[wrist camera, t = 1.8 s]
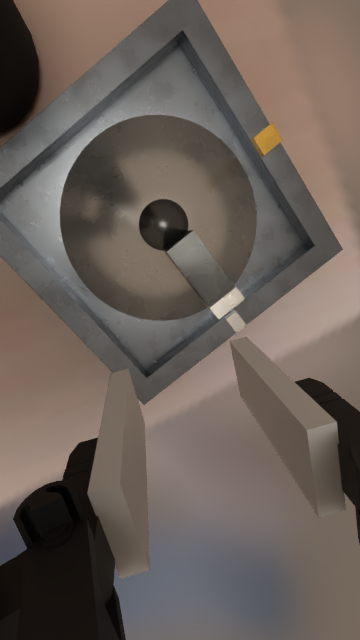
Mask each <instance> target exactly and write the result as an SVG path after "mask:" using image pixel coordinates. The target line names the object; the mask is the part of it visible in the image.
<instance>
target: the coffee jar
mask: <svg viewBox="0 0 360 640" xmlns="http://www.w3.org/2000/svg"><path fill="white" fill-rule="evenodd" d="M37 86H38V58H37V54H36V50H35V46H34V43H33V39H32V35H31V33H30V32H29V30H28V28H27V26H26V24H25V22H24V20H23V18H22V17H21V15H20V13H19V11H18V9H17V7H16V5H15V3H14V1H13V0H0V132H1V131H3V130H5V129H6V128H8V127H10V126H12V125H13V124H15V123H17V122H18V121H19V120H20V119H21V118H22V116H23V115H24V114H25V113H26V111H27V110H28V109H29V108H30V106H31V104H32V101H33V98H34V95H35V92H36V89H37Z"/></svg>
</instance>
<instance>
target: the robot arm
mask: <svg viewBox="0 0 360 640" xmlns="http://www.w3.org/2000/svg"><path fill="white" fill-rule="evenodd" d="M230 345H231V350H232V355H233V360H234V365H235V370H236V375H237V380H238V386H239V391H240V396H241V397H242V399H243V401H244V402H245V404H246V405H247V407H248V408H249V410H250V412H251V413H252V414H253V416H254V418H255V419H256V421H257V422H258V424H259V426H260V427H261V429H262V430H263V432H264V433H265V435H266V436H267V438H268V440H269V441H270V443H271V444H272V446H273V447H274V449H275V450H276V452H277V454H278V455H279V457H280V458H281V460H282V462H283V463H284V464H285V466H286V468H287V469H288V471H289V472H290V474H291V476H292V477H293V479H294V480H295V482H296V483H297V485H298V486H299V488H300V490H301V491H302V493H303V494H304V496H305V497H306V499H307V501H308V502H309V504H310V505H311V507H312V508H313V510H314V512H315V513H316V515H317V516H318V518H321V517H324V516H327V515H330V514H334V513H337V512H340V511H343V510H345V509H346V507H345V498H344V493H345V494H346V495H347V497H348V498H349V499H350V500H351V501H352V503H353V504H354V505H355V508H356V519H357V529H358V539H359V543H360V412H359V411H358V410H357V409H355V408H354V407H353V406H352V405H350V404H349V403H348V402H346V401H345V400H344V399H342V398H341V397H340V396H339V395H338V394H337V393H335V392H333V390H332V389H330V388H329V387H328V386H327V385H325V384H324V383H322V382H319V381H317V380H314V379H311V378H307V379H304V380H300V381H296V382H294V381H293V380H292V379H290V378H289V377H288V376H287V375H286V374H285V373H284V372H283V371H282V370H281V369H280V368H279V367H278V366H277V365H276V364H275V363H274V362H272V361H271V360H270V359H269V358H268V357H267V356H266V355H265V354H264V353H263V352H262V351H261V350H260V349H259V348H257V347H256V346H255V345H254V344H253V343H252V342H251V341H250V340H249V339H248V338H247V337H245V338H242V339H238V340H234V341H230ZM13 520H14V522H15V523H16V526H17V528H18V530H19V532H20V534H21V536H22V538H23V540H24V542H25V545H26V547H27V550H25V551H24V552H22V553H21V554H19V555H18V556H17V557H15V558H13V559H11V560H10V561H8V562H6V563H4V564H3V565H1V566H0V640H126V639H125V633H124V627H123V621H122V615H121V609H120V603H119V598H118V595H117V593H116V590H115V588H114V585H113V583H114V568H115V566H116V569H117V571H118V574H119V576H120V579H122V578H125V577H128V576H132V575H135V574H138V573H141V572H145V571H148V570H150V559H149V558H150V557H149V530H148V503H147V475H146V450H145V422H144V419H143V416H142V412H141V409H140V406H139V403H138V399H137V396H136V393H135V389H134V386H133V383H132V379H131V376H130V373H129V369H125V370H121V371H117V372H114V373H111V375H110V380H109V385H108V390H107V395H106V401H105V406H104V411H103V416H102V421H101V426H100V431H99V436H98V438H95V439H91V440H88V441H84V442H80V443H79V444H78V445H77V446H76V448H75V449H74V450H73V451H72V453H71V454H70V456H69V459H68V462H67V466H66V469H65V472H64V475H63V480H62V481H56V482H52V483H49V484H46V485H44V486H42V487H41V488H39V489H37V490H35V491H34V492H33V493H32V494H30V495H29V496H28V497H27V498H26V499H25V500H24V501H23V502H22V503H21V505H20V506H19V507H18V509H17V510H16V513H15V515H14V518H13Z"/></svg>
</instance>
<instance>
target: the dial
mask: <svg viewBox="0 0 360 640" xmlns="http://www.w3.org/2000/svg"><path fill="white" fill-rule="evenodd" d="M60 228H61V234H62V240H63V244H64V247H65V250H66V253H67V256H68V258H69V260H70V262H71V265H72V267H73V268H74V270H75V272H76V273H77V275H78V277H79V278H80V279H81V280H82V282H83V283H84V284H85V286H86V287H87V288H88V289H89V290H90V291H91V292H92V293H93V294H94V295H95V296H96V297H97V298H99V299H100V300H101V301H103V302H104V303H105V304H107V305H108V306H110V307H112V308H114V309H115V310H117V311H119V312H122V313H124V314H126V315H129V316H132V317H136V318H139V319H145V320H152V321H167V320H176V319H181V318H185V317H189V316H191V315H194V314H197V313H199V312H201V311H203V310H205V309H207V308H208V309H209V310H210V311H211V312H212V313H213V314H214V315H215V316H216V317H217V318H218V319H220V318H222V317H223V316H224V315H225V314H227V313H228V312H229V311H230V310H232V309H233V308H234V307H235V306H237V305H238V304H239V303H241V302H242V301H243V300H244V299H245V298H244V297H243V295H242V294H241V293H240V291H239V290H238V289H237V287H235V286H234V285H235V284H236V282H237V281H238V279H239V278H240V276H241V275H242V273H243V271H244V269H245V267H246V265H247V264H248V261H249V259H250V256H251V253H252V250H253V246H254V242H255V237H256V228H257V211H256V203H255V198H254V194H253V190H252V186H251V184H250V181H249V179H248V176H247V174H246V172H245V170H244V168H243V166H242V164H241V163H240V161H239V160H238V158H237V157H236V156H235V154H234V153H233V151H232V150H231V149H230V148H229V147H228V146H227V145H226V144H225V143H224V142H223V141H222V140H221V139H220V138H218V137H217V136H216V135H215V134H213V133H212V132H211V131H209V130H207V129H206V128H204V127H202V126H201V125H198V124H196V123H194V122H191V121H189V120H186V119H182V118H179V117H175V116H168V115H144V116H139V117H133V118H130V119H127V120H124V121H121V122H118V123H117V124H115V125H113V126H111V127H109V128H107V129H106V130H104V131H103V132H101V133H100V134H99V135H97V136H96V137H95V138H94V139H93V140H92V141H91V142H90V143H89V144H88V145H87V146H86V147H85V148H84V149H83V150H82V152H81V153H80V154H79V156H78V157H77V158H76V160H75V162H74V164H73V165H72V167H71V169H70V171H69V173H68V176H67V179H66V181H65V184H64V188H63V192H62V196H61V204H60Z"/></svg>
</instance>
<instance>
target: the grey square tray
mask: <svg viewBox="0 0 360 640" xmlns="http://www.w3.org/2000/svg"><path fill="white" fill-rule="evenodd" d="M144 115H168V116H175V117H179V118H182V119H186V120H189V121H191V122H194V123H196V124H198V125H201V126H202V127H204V128H206V129H207V130H209V131H211V132H212V133H213V134H215V135H216V136H217V137H218V138H220V139H221V140H222V141H223V142H224V143H225V144H226V145H227V146H228V147H229V148H230V149H231V150H232V151H233V153H234V154H235V156H236V157H237V158H238V160H239V161H240V163H241V164H242V166H243V168H244V170H245V172H246V174H247V176H248V179H249V181H250V184H251V186H252V190H253V194H254V198H255V203H256V211H257V228H256V237H255V242H254V246H253V250H252V253H251V256H250V259H249V261H248V264H247V265H246V267H245V269H244V271H243V273H242V275H241V276H240V278H239V279H238V281H237V282H236V284H235V285H234V286H235V287H237V289H238V290H239V291H240V293H241V294H242V295H243V297H244V298H245V299H244V300H243V301H242V302H241V303H239V304H238V305H237V306H235V307H234V308H233V309H232V310H230V311H229V312H228V313H227V314H225V315H224V316H223V317H222V318H220V319H218V318H217V317H216V316H215V315H214V314H213V313H212V312H211V311H210V310H209V309H208V308H207V309H205V310H203V311H201V312H199V313H197V314H194V315H191V316H189V317H185V318H181V319H176V320H167V321H152V320H145V319H139V318H136V317H132V316H129V315H126V314H124V313H122V312H119V311H117V310H115V309H114V308H112V307H110V306H108V305H107V304H105V303H104V302H103V301H101V300H100V299H99V298H97V297H96V296H95V295H94V294H93V293H92V292H91V291H90V290H89V289H88V288H87V287H86V286H85V284H84V283H83V282H82V280H81V279H80V278H79V277H78V275H77V273H76V272H75V270H74V268H73V267H72V265H71V262H70V260H69V258H68V256H67V253H66V250H65V247H64V244H63V240H62V234H61V228H60V204H61V196H62V192H63V188H64V184H65V181H66V179H67V176H68V173H69V171H70V169H71V167H72V165H73V164H74V162H75V160H76V158H77V157H78V156H79V154H80V153H81V152H82V150H83V149H84V148H85V147H86V146H87V145H88V144H89V143H90V142H91V141H92V140H93V139H94V138H95V137H96V136H97V135H99V134H100V133H101V132H103V131H104V130H106V129H107V128H109V127H111V126H113V125H115V124H117V123H118V122H121V121H124V120H127V119H130V118H133V117H139V116H144ZM281 141H282V138H281V136H280V135H279V133H278V131H277V130H276V128H275V126H274V124H273V123H271V124H269V122H268V120H267V119H266V117H265V115H264V114H263V112H262V110H261V108H260V107H259V105H258V103H257V102H256V100H255V98H254V97H253V95H252V93H251V91H250V90H249V88H248V86H247V85H246V83H245V81H244V79H243V78H242V76H241V74H240V73H239V71H238V69H237V67H236V66H235V64H234V62H233V61H232V59H231V57H230V55H229V54H228V52H227V50H226V49H225V47H224V45H223V43H222V42H221V40H220V38H219V37H218V35H217V33H216V32H215V30H214V28H213V26H212V25H211V23H210V21H209V20H208V18H207V16H206V14H205V13H204V11H203V9H202V8H201V6H200V4H199V2H198V1H197V0H168V1H167V2H166V3H165V4H164V5H163V6H161V7H160V8H159V9H158V10H157V11H156V12H155V13H154V14H152V15H151V16H150V17H149V18H148V19H147V20H146V21H144V22H143V23H142V24H141V25H140V26H139V27H138V28H136V29H135V30H134V31H133V32H132V33H131V34H130V35H128V36H127V37H126V38H125V39H124V40H123V41H122V42H120V43H119V44H118V45H117V46H116V47H115V48H114V49H112V50H111V51H110V52H109V53H108V54H107V55H106V56H104V57H103V58H102V59H101V60H100V61H99V62H98V63H96V64H95V65H94V66H93V67H92V68H91V69H90V70H88V71H87V72H86V73H85V74H84V75H83V76H82V77H81V78H79V79H78V80H77V81H76V82H75V83H74V84H73V85H71V86H70V87H69V88H68V89H67V90H66V91H65V92H63V93H62V94H61V95H60V96H59V97H58V98H57V99H55V100H54V101H53V102H52V103H51V104H50V105H49V106H47V107H46V108H45V109H44V110H43V111H42V112H41V113H39V114H38V115H37V116H36V117H35V118H34V119H33V120H31V121H30V122H29V123H28V124H27V125H26V126H25V127H23V128H22V129H21V130H20V131H19V132H18V133H17V134H15V135H14V136H13V137H12V138H11V139H10V140H9V141H8V142H6V143H5V144H4V145H3V146H2V147H1V148H0V256H1V257H2V258H3V259H4V260H5V261H6V262H7V263H8V264H9V265H10V266H11V267H12V268H13V269H14V270H15V271H16V272H17V274H18V275H19V276H20V277H21V278H22V279H23V280H24V281H25V282H26V283H27V284H28V285H29V286H30V287H31V288H32V289H33V290H34V291H35V292H36V293H37V294H38V295H39V296H40V297H41V298H42V299H43V300H44V302H45V303H46V304H47V305H48V306H49V307H50V308H51V309H52V310H53V311H54V312H55V313H56V314H57V315H58V316H59V317H60V318H61V319H62V320H63V321H64V322H65V323H66V324H67V325H68V326H69V327H70V329H71V330H72V331H73V332H74V333H75V334H76V335H77V336H78V337H79V338H80V339H81V340H82V341H83V342H84V343H85V344H86V345H87V346H88V347H89V348H90V349H91V350H92V351H93V352H94V353H95V354H96V355H97V357H98V358H99V359H100V360H101V361H102V362H103V363H104V364H105V365H106V366H107V367H108V368H109V369H110V370H111V371H112V372H113V373H114V372H117V371H121V370H125V369H129V373H130V376H131V379H132V383H133V386H134V389H135V393H136V396H137V398H138V399H139V400H140V401H141V402H142V403H143V404H146V403H147V402H148V401H150V400H151V399H152V398H153V397H155V396H156V395H157V394H158V393H160V392H161V391H162V390H164V389H165V388H166V387H167V386H169V385H170V384H171V383H173V382H174V381H175V380H176V379H178V378H179V377H180V376H181V375H183V374H184V373H185V372H187V371H188V370H189V369H190V368H192V367H193V366H194V365H196V364H197V363H198V362H199V361H201V360H202V359H203V358H205V357H206V356H207V355H208V354H210V353H211V352H212V351H213V350H215V349H216V348H217V347H219V346H220V345H221V344H222V343H224V342H225V341H226V340H228V339H229V338H230V337H231V336H233V335H234V334H235V333H238V332H239V331H240V330H242V329H243V328H244V327H245V326H247V324H248V323H249V322H251V321H252V320H253V319H254V318H256V317H257V316H258V315H260V314H261V313H262V312H263V311H265V310H266V309H267V308H269V307H270V306H271V305H272V304H274V303H275V302H276V301H277V300H279V299H280V298H281V297H283V296H284V295H285V294H286V293H288V292H289V291H290V290H292V289H293V288H294V287H295V286H297V285H298V284H299V283H300V282H302V281H303V280H304V279H306V278H307V277H308V276H309V275H311V274H312V273H313V272H315V271H316V270H317V269H318V268H320V267H321V266H322V265H324V264H325V263H326V262H327V261H329V260H330V259H331V258H332V257H334V256H335V255H336V254H338V253H339V252H340V251H341V250H343V249H342V247H341V245H340V244H339V242H338V240H337V239H336V237H335V235H334V233H333V232H332V230H331V228H330V227H329V225H328V223H327V221H326V220H325V218H324V216H323V215H322V213H321V211H320V209H319V208H318V206H317V204H316V203H315V201H314V199H313V197H312V196H311V194H310V192H309V191H308V189H307V187H306V185H305V184H304V182H303V180H302V179H301V177H300V175H299V174H298V172H297V170H296V168H295V167H294V165H293V163H292V162H291V160H290V158H289V156H288V155H287V153H286V151H285V150H284V148H283V146H282V144H281V143H280V142H281Z"/></svg>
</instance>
